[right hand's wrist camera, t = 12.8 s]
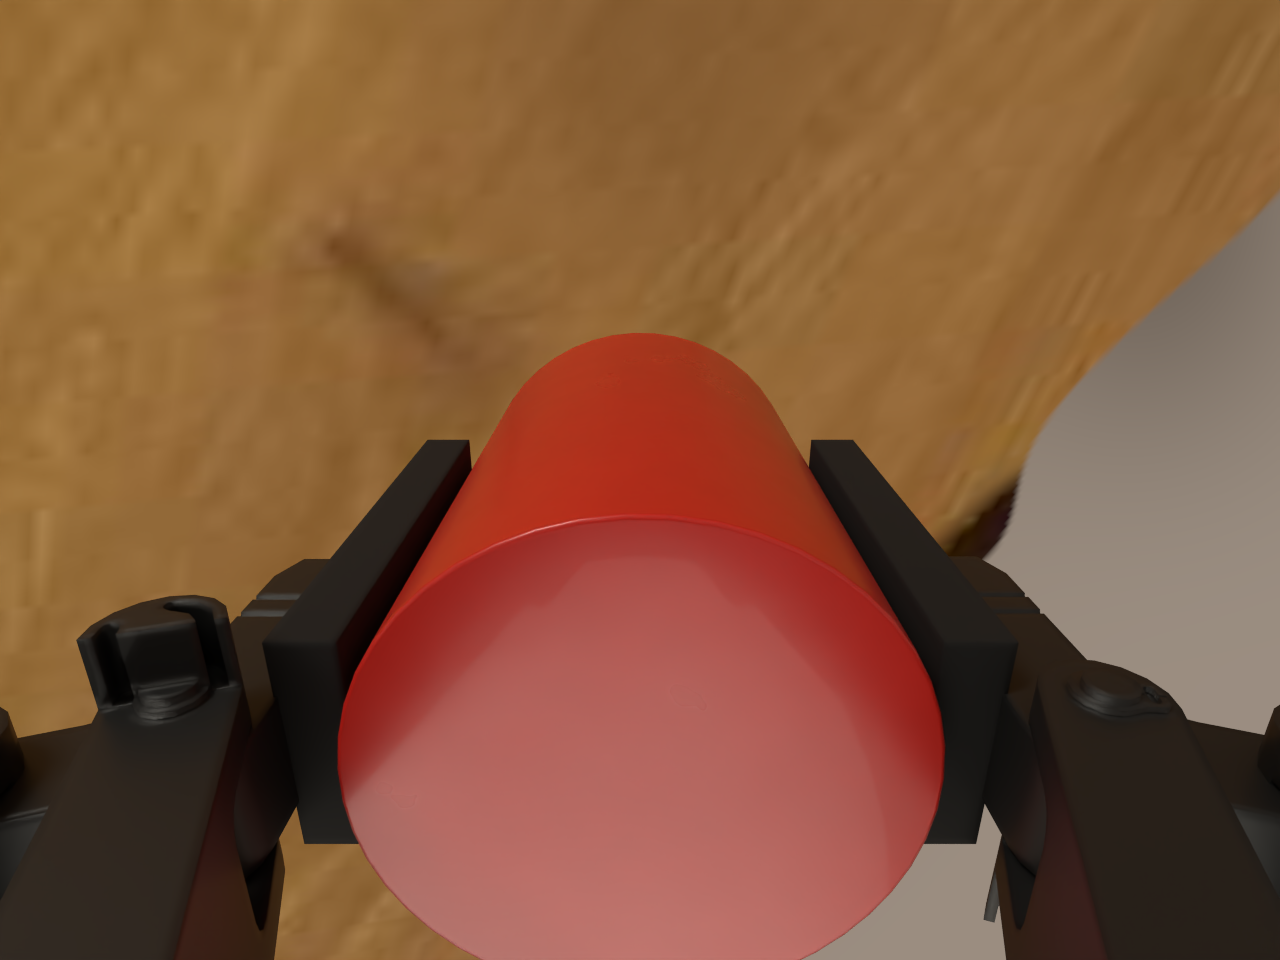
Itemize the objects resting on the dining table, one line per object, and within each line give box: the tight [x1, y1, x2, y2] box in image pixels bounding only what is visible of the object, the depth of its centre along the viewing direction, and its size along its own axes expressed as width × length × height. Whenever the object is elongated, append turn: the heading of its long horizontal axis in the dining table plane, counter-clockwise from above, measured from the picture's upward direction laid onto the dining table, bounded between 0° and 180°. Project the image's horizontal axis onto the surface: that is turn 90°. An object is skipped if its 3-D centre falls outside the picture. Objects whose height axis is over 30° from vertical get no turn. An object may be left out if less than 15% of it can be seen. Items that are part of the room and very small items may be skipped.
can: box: [338, 333, 945, 960], centre depth 12 cm, size 6×6×9 cm
